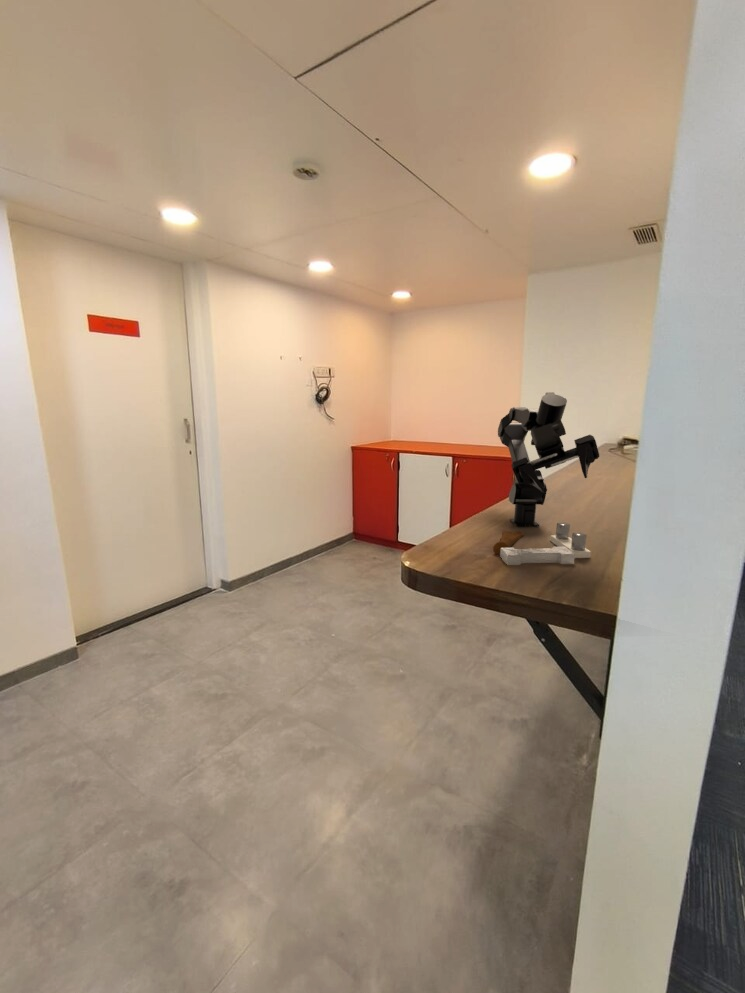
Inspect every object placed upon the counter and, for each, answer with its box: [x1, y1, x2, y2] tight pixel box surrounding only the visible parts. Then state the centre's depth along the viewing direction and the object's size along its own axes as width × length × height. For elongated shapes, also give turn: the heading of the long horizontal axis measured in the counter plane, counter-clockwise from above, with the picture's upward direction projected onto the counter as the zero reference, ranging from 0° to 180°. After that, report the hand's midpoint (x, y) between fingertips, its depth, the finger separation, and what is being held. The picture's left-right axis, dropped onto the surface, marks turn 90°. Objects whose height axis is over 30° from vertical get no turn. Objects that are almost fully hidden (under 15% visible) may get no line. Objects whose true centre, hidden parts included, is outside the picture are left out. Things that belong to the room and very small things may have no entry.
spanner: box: [499, 546, 576, 566], centre depth 100 cm, size 5×15×2 cm, turn 93°
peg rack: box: [549, 521, 592, 559], centre depth 107 cm, size 12×4×5 cm, turn 3°
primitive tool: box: [493, 530, 525, 556], centre depth 111 cm, size 19×6×4 cm, turn 156°
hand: (563, 483), depth 98 cm, fingers open, 9 cm apart
